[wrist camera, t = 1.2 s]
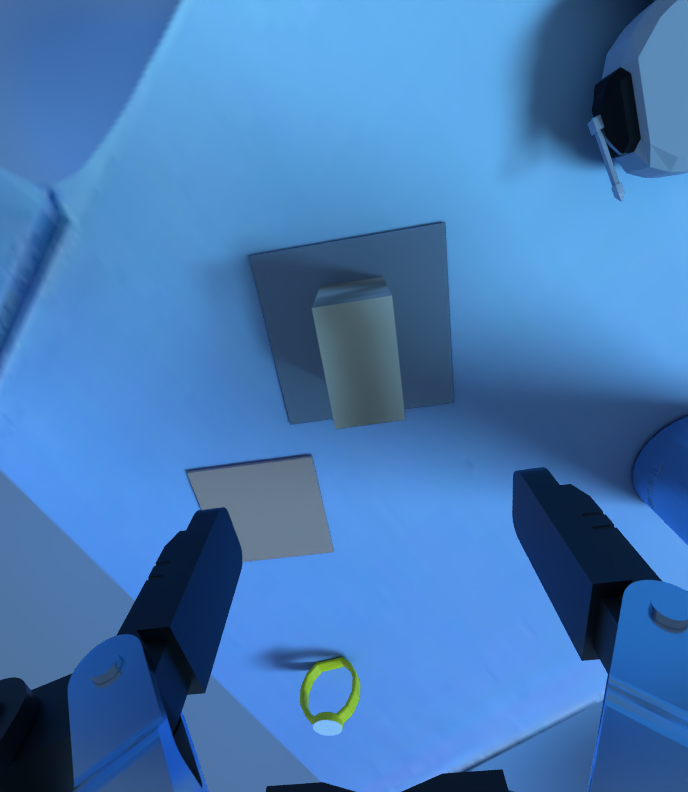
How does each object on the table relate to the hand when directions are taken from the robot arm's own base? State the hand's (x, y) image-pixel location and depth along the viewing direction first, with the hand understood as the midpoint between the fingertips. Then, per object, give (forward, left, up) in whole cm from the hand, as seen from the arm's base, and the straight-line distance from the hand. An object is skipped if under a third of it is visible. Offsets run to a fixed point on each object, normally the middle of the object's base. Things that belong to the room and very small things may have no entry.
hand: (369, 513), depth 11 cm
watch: (+8, +35, -18) cm, 40 cm away
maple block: (0, 0, -17) cm, 17 cm away
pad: (+10, +14, -17) cm, 24 cm away
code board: (0, 0, -17) cm, 17 cm away
